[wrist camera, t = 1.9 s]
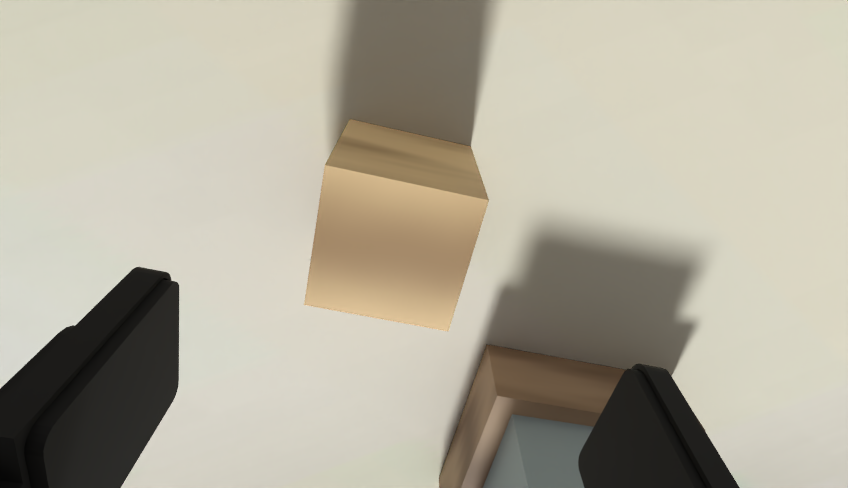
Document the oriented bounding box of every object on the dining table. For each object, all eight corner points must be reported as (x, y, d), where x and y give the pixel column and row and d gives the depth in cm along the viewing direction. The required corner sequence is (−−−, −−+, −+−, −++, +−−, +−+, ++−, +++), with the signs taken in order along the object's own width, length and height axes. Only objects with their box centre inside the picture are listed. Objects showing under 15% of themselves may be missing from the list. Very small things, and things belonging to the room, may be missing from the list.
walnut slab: (596, 495, 31) (619, 560, 27) (438, 471, 30) (441, 537, 26) (666, 372, 27) (705, 431, 23) (485, 338, 26) (497, 395, 22)
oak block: (441, 251, 23) (448, 331, 17) (331, 229, 22) (304, 304, 17) (470, 146, 21) (488, 200, 15) (349, 118, 20) (325, 164, 15)
